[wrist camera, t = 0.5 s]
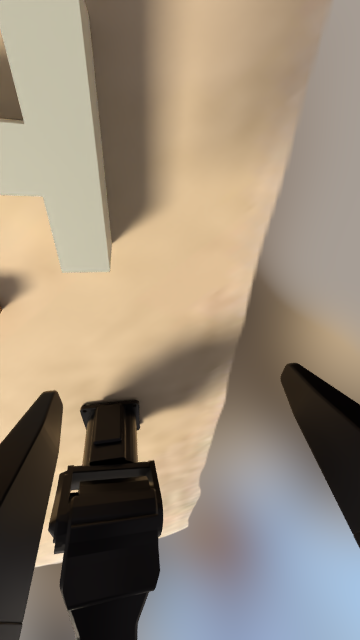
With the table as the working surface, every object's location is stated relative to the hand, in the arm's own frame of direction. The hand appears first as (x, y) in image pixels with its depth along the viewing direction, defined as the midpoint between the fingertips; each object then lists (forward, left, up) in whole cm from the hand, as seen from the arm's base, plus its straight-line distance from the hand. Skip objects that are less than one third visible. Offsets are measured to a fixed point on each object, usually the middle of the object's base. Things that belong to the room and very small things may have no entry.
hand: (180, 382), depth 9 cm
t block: (+6, +7, -11) cm, 14 cm away
